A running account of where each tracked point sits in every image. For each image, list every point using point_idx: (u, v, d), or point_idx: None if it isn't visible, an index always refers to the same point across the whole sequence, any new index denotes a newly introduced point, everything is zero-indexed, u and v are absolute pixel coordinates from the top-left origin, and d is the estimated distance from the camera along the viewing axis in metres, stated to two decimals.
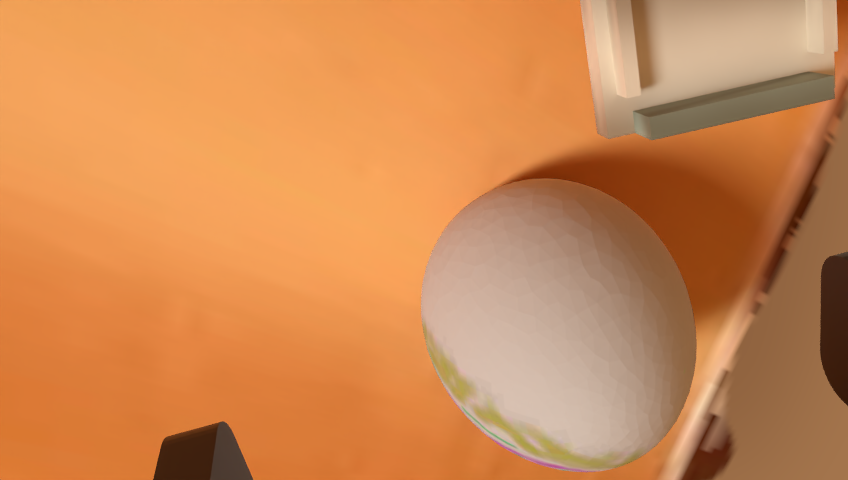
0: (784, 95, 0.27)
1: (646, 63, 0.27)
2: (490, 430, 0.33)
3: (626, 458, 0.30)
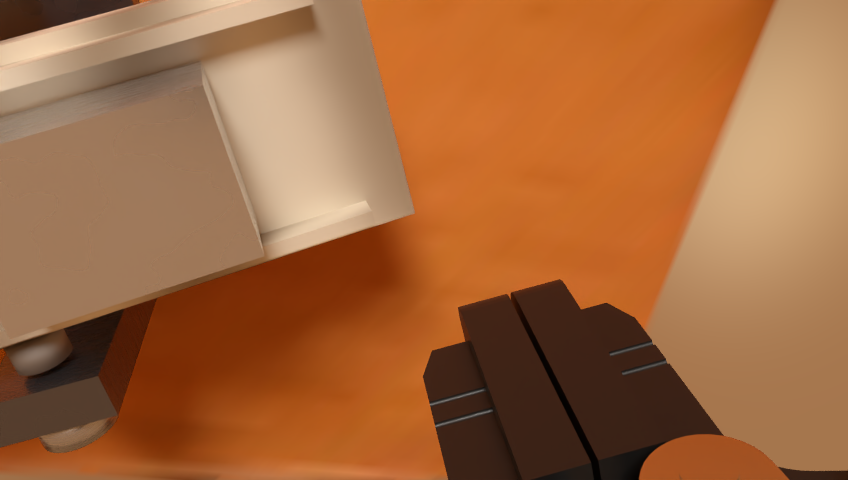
0: None
1: None
2: None
3: None
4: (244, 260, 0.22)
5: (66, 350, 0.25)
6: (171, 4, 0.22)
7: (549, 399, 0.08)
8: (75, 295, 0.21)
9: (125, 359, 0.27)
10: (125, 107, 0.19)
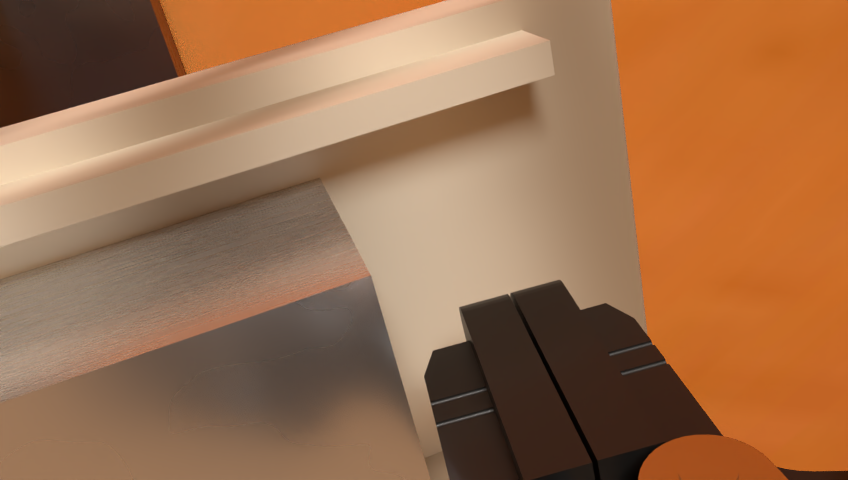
0: None
1: None
2: None
3: None
4: None
5: None
6: (271, 77, 0.11)
7: (550, 399, 0.08)
8: None
9: None
10: (197, 332, 0.08)
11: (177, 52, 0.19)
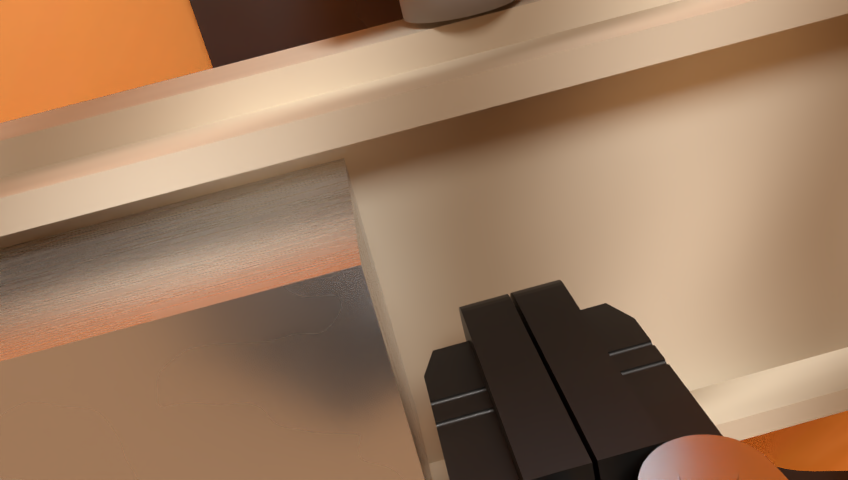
0: None
1: None
2: None
3: None
4: None
5: None
6: None
7: (550, 399, 0.08)
8: None
9: None
10: (184, 309, 0.08)
11: None
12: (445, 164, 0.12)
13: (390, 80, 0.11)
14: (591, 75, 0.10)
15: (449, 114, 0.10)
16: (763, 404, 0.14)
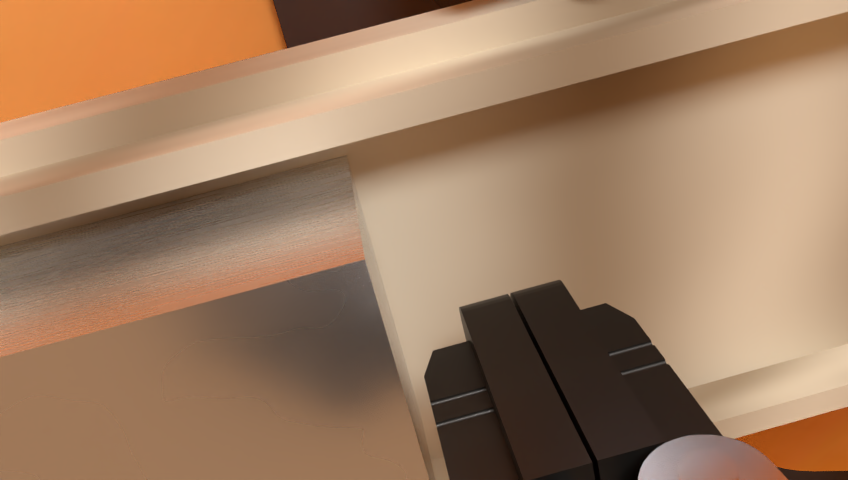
0: None
1: None
2: None
3: None
4: None
5: None
6: None
7: (550, 399, 0.08)
8: None
9: None
10: (189, 304, 0.08)
11: None
12: (563, 131, 0.12)
13: (519, 45, 0.11)
14: (721, 39, 0.11)
15: (582, 77, 0.11)
16: None
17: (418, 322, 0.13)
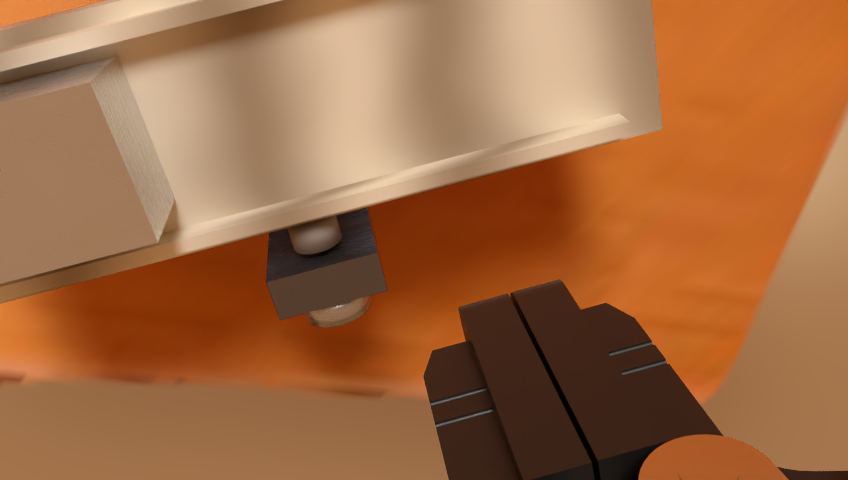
0: None
1: None
2: None
3: None
4: (138, 245, 0.23)
5: (339, 235, 0.28)
6: None
7: (549, 399, 0.08)
8: None
9: (377, 248, 0.30)
10: (19, 99, 0.21)
11: None
12: (225, 45, 0.24)
13: (190, 1, 0.24)
14: None
15: (213, 15, 0.23)
16: (405, 178, 0.26)
17: (165, 145, 0.26)
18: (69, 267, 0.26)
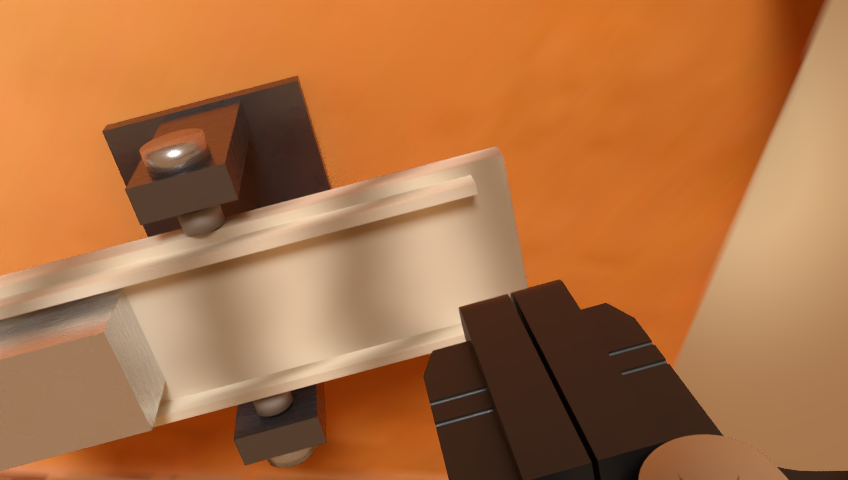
0: None
1: None
2: None
3: None
4: (137, 432, 0.32)
5: (289, 400, 0.37)
6: (383, 189, 0.33)
7: (550, 399, 0.08)
8: (27, 450, 0.32)
9: (321, 402, 0.39)
10: (54, 344, 0.30)
11: (319, 148, 0.42)
12: (201, 279, 0.34)
13: (175, 254, 0.33)
14: (238, 255, 0.32)
15: (191, 268, 0.32)
16: (337, 366, 0.35)
17: (158, 346, 0.35)
18: None
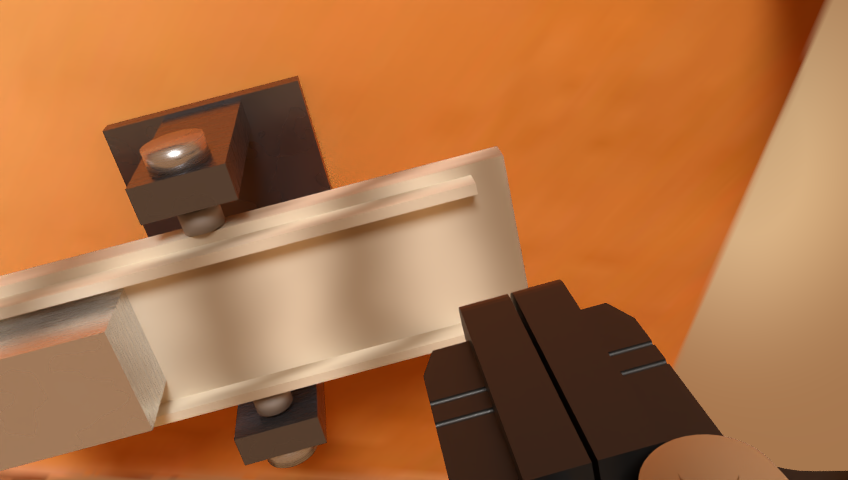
0: None
1: None
2: None
3: None
4: (138, 432, 0.32)
5: (290, 400, 0.37)
6: (383, 189, 0.33)
7: (549, 399, 0.08)
8: (28, 450, 0.32)
9: (321, 402, 0.39)
10: (55, 344, 0.30)
11: (319, 148, 0.42)
12: (201, 279, 0.34)
13: (175, 254, 0.33)
14: (238, 255, 0.32)
15: (191, 268, 0.32)
16: (337, 366, 0.35)
17: (158, 346, 0.35)
18: None
